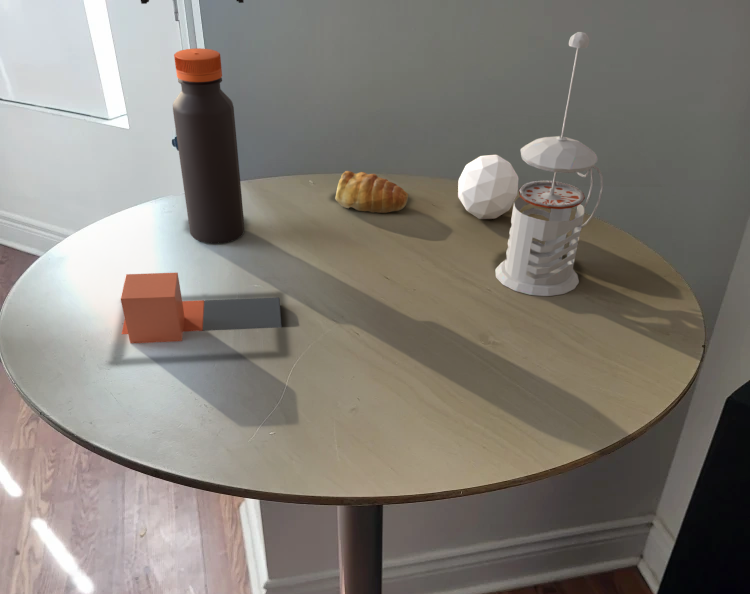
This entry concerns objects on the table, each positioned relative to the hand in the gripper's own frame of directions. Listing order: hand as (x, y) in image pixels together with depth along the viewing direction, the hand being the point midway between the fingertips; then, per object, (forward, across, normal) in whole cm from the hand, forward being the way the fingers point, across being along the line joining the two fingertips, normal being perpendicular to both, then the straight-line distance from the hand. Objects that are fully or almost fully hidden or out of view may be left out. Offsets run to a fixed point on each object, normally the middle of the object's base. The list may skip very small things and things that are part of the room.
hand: (193, 0), depth 80 cm
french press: (+25, -38, +14) cm, 47 cm away
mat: (+25, +2, +25) cm, 35 cm away
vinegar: (+25, 0, 0) cm, 25 cm away
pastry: (+25, -20, -8) cm, 33 cm away
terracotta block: (+24, +6, +25) cm, 35 cm away
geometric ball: (+26, -34, -3) cm, 43 cm away
